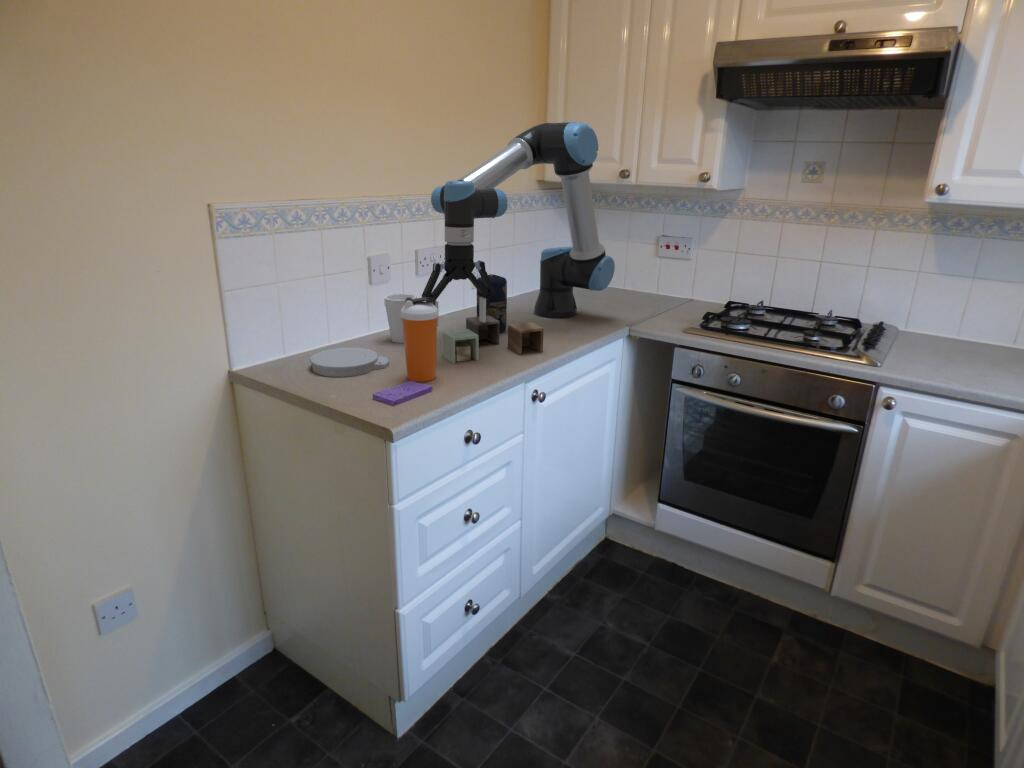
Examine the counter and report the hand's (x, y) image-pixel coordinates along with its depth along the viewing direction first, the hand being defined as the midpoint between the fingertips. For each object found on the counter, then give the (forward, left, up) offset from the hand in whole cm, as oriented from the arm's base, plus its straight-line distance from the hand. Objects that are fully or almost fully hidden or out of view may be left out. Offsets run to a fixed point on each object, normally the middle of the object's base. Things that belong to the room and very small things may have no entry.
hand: (459, 323), depth 174 cm
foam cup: (+9, -24, -10) cm, 28 cm away
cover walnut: (-20, 0, -10) cm, 23 cm away
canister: (-20, -23, -10) cm, 32 cm away
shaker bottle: (+15, +11, -10) cm, 21 cm away
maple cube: (0, 0, -10) cm, 10 cm away
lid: (+29, -5, -10) cm, 31 cm away
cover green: (0, 0, -10) cm, 10 cm away
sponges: (+23, +21, -11) cm, 33 cm away
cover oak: (-12, -12, -10) cm, 20 cm away
